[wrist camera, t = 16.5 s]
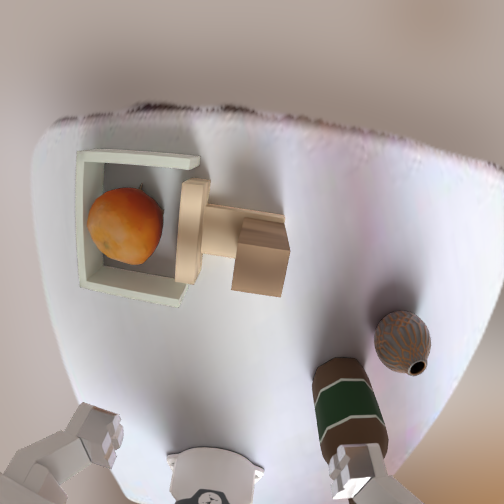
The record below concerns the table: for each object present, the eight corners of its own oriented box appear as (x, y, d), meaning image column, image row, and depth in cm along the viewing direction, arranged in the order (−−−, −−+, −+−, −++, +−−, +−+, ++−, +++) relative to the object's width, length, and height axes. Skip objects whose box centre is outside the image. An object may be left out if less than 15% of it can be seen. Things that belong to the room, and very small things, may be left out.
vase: (363, 315, 36) (384, 359, 28) (412, 294, 35) (443, 332, 27) (373, 354, 38) (392, 399, 30) (418, 334, 37) (445, 375, 29)
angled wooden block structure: (272, 280, 35) (273, 327, 26) (183, 266, 35) (158, 308, 26) (288, 191, 31) (297, 212, 23) (192, 177, 31) (163, 193, 22)
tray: (188, 288, 36) (178, 308, 31) (97, 271, 35) (79, 287, 31) (200, 156, 30) (190, 158, 26) (98, 148, 30) (76, 151, 26)
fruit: (193, 203, 31) (147, 256, 25) (166, 238, 36) (127, 286, 31) (135, 153, 29) (80, 197, 24) (117, 196, 35) (73, 238, 30)
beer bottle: (315, 399, 41) (334, 549, 19) (306, 362, 39) (327, 534, 16) (366, 386, 40) (408, 530, 18) (363, 348, 38) (419, 509, 15)
